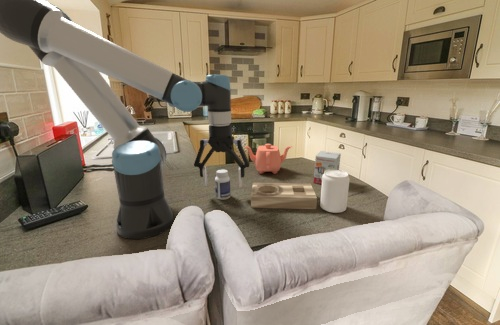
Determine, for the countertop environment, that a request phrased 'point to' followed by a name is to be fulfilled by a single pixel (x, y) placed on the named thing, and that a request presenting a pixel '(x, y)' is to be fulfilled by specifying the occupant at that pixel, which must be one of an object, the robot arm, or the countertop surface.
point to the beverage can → (334, 191)
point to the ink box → (325, 164)
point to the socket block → (283, 196)
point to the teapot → (268, 158)
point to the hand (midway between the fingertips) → (222, 185)
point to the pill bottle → (222, 185)
